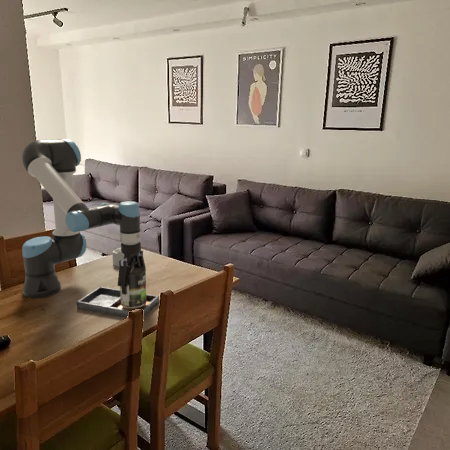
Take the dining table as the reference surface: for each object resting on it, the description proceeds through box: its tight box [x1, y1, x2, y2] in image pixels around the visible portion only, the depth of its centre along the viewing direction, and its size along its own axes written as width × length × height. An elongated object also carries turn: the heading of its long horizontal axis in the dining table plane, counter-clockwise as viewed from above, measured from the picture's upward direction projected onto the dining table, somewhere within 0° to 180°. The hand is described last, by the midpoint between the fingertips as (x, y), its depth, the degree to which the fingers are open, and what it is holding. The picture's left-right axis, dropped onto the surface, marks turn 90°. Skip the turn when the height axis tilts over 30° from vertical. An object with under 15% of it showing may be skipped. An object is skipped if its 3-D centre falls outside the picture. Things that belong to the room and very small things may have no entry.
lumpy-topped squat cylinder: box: [111, 246, 134, 268], centre depth 202 cm, size 10×13×9 cm
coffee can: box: [119, 266, 147, 309], centre depth 153 cm, size 10×10×14 cm
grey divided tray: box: [76, 286, 160, 318], centre depth 157 cm, size 28×16×3 cm, turn 73°
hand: (133, 295), depth 154 cm, fingers closed on coffee can, 10 cm apart
